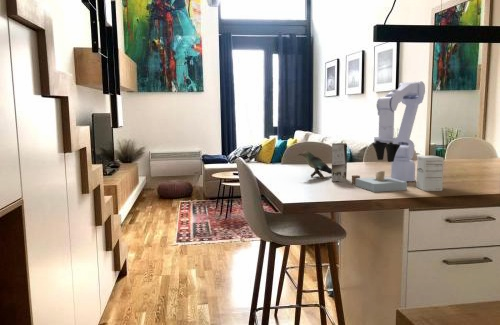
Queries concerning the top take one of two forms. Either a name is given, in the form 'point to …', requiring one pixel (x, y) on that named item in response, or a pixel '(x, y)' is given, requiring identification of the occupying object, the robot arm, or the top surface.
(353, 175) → the short dowel
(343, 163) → the coffee box
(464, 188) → the top surface
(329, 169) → the bird figurine
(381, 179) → the long dowel
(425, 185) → the supplement box
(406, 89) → the robot arm
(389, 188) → the hole board
